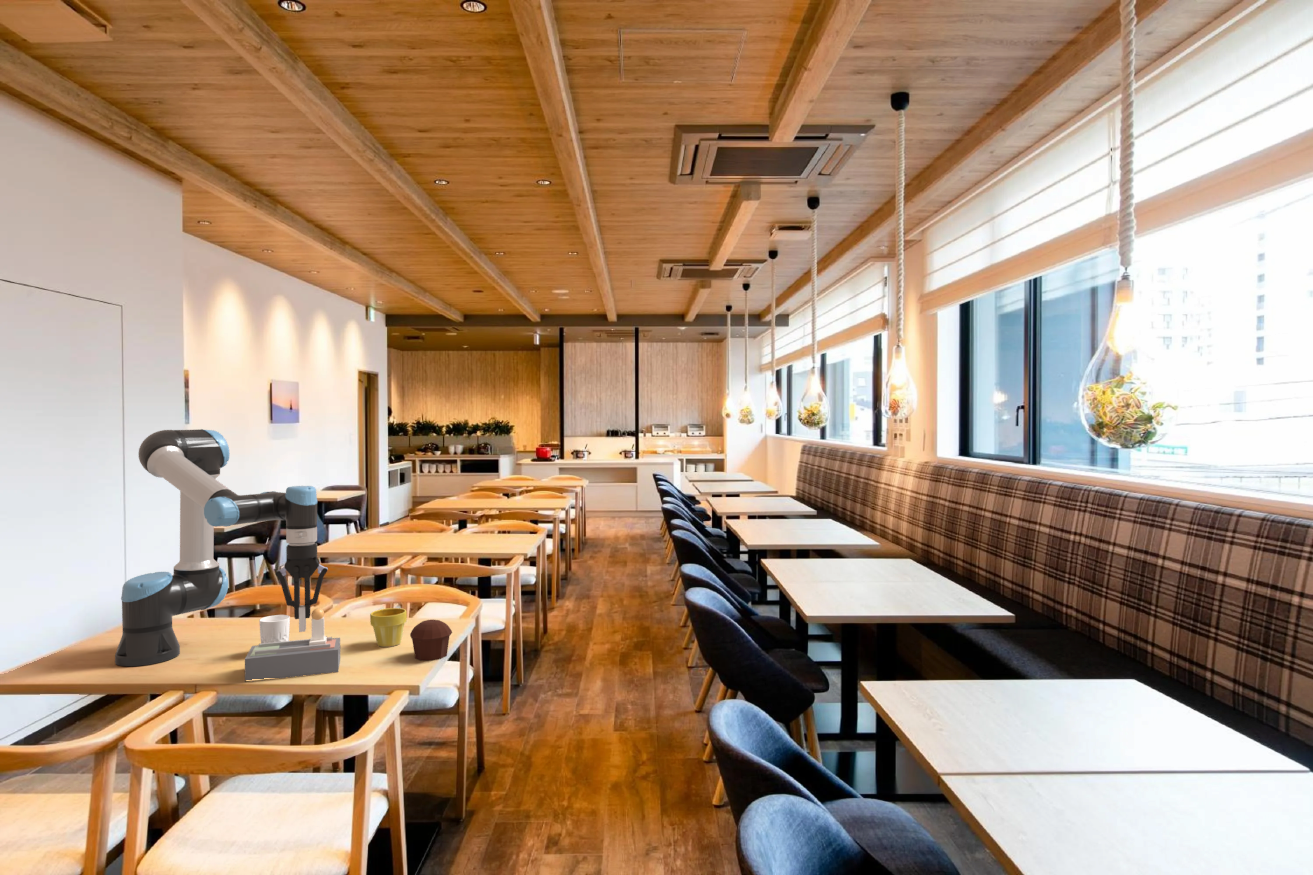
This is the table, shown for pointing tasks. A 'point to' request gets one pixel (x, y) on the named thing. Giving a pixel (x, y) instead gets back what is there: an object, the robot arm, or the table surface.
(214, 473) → the robot arm
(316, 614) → the lever
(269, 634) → the white cup
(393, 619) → the plant pot
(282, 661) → the switch block
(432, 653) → the muffin
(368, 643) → the table surface
